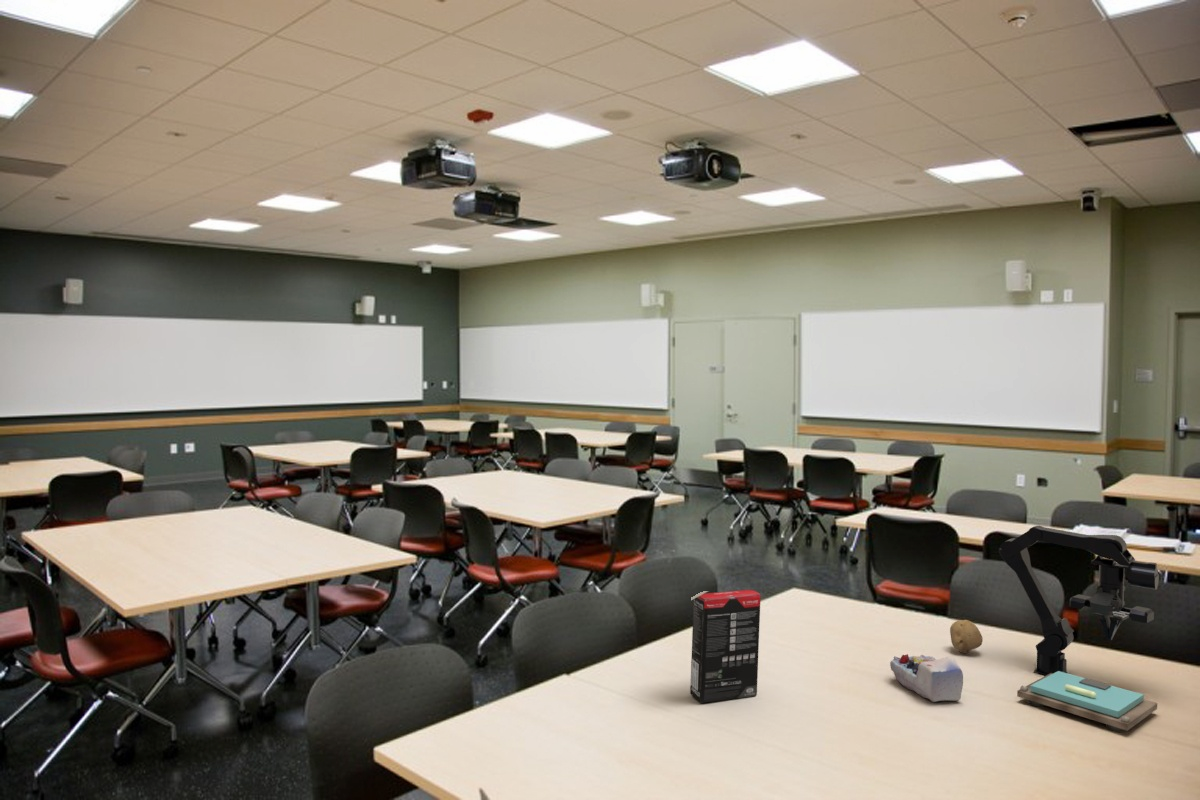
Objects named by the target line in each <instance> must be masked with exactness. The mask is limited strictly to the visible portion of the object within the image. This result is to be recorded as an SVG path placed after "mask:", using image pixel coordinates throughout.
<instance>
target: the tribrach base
mask: <svg viewBox="0 0 1200 800" xmlns="http://www.w3.org/2000/svg"><path fill="white" fill-rule="evenodd" d="M1050 675H1052V673H1050V674H1048V675H1044V676H1043V677H1041V678H1039V679H1036V681H1033V682H1031V683H1030V684H1027V685H1021V686H1020V689H1018V690H1017V693H1016V694H1017V696H1016V697H1018V698H1022V699H1025V700H1028V704H1029V705H1031V706H1034V707H1039V708H1040V707H1041V708H1043V707H1044V706H1046V707H1050V708H1053V709H1056V710H1060V711H1063V712H1067V713H1070V714H1073V715H1076V716H1079V717H1082V718H1086V719H1088V720H1092V721H1095V722H1098V723H1101V724H1105V725H1106V728H1107V729H1108V730H1111V731H1114V732H1119V733H1120V732H1124V731H1126V732H1127V731H1129V730H1130V729H1132V728H1134V726H1136V725H1137V724H1139V723H1140V722H1141V721H1143V720H1144V719H1146V718H1147V717H1148V716H1150V715H1151V714H1152V713H1154V712H1155V711H1156V710H1157V709H1158V703H1157V702H1156V701H1152V700H1147V699H1145V698H1144V701H1142V702H1141V703H1139V704H1138V705H1136V706H1135V707H1133V708H1132V709H1130V710H1129V711H1127V712H1126V713H1124V714H1123V715H1121V716H1120V717H1118V718H1117V717H1114V716H1111V715H1107V714H1104V713H1101V712H1097V711H1094V710H1091V709H1087V708H1084V707H1081V706H1077V705H1074V704H1071V703H1067V702H1064V701H1061V700H1058V699H1054V698H1051V697H1048V696H1044V695H1041V694H1038V693H1034V692H1031V691H1030V685H1032V684H1034V683H1036V682H1038V681H1040V680H1042V679H1044V678H1046V677H1048V676H1050Z"/></svg>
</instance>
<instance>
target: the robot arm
mask: <svg viewBox="0 0 1200 800" xmlns="http://www.w3.org/2000/svg"><path fill="white" fill-rule="evenodd" d="M1037 542H1042V543H1043V542H1044V543H1047V544H1048V543H1049V544H1054V545H1058V546H1065V547H1069V548H1075V549H1079V550H1085V551H1087V552H1089V553H1092V554H1094V555H1096V557H1095V558H1094V559H1092V560H1091V561H1090V564H1091V565H1095V566H1096V565H1098V566H1099V567H1098V571H1099V572H1098V585H1097V586H1096V587H1097V588H1096V592H1095V594H1093V595H1092V596H1089V595H1083V594H1076V595H1073V596H1071V597H1070V598H1069V603H1068V605H1069V607H1070V608H1073V609H1076V610H1077V609H1078V610H1082V609H1085V607H1087V608H1090V612H1091V615H1094V616H1095V617H1097V618H1098V619H1099V621H1100V624H1101V626H1102V628H1103V631H1104V634H1105V637H1106V639H1107V641H1112V640H1113V638H1114V636H1115V634H1116V633H1117V630H1118V629H1119V627H1120V625H1121V624H1122V622H1123V621H1125V620H1127V619H1129V618H1130V619H1131V620H1132V621H1134V622H1138V623H1142V624H1148V623H1150V622H1152V621H1154V619H1155V612H1154V611H1153V609H1152V608H1148V607H1144V606H1138V605H1135V606H1134V607H1132V608H1131V607H1130V608H1129V607H1125V605H1126V602H1125V600H1124V596H1125V595H1124V594H1125V591H1126V586H1125V581H1126V582H1127V583H1128V584H1129V585H1130V586H1131V587H1139V588H1144V589H1150V590H1157V589H1158V586H1159V579H1160V578H1159V577H1160V574H1159V571H1158V570H1159V569H1158V564H1157V563H1156V562H1152V561H1151V562H1145V561H1137V560H1136V558H1135V557H1134V556H1133V555H1132V553H1131V551H1129V550H1128V549H1127V548H1128V546H1127V543H1126V541H1125V540H1124V539H1123V537H1121V536H1119V535H1118V534H1083V533H1078V532H1073V531H1067V530H1062V529H1061V530H1060V529H1056V528H1050V527H1046V526H1042V525H1034V526H1031V527H1030V528H1029V529H1028V530H1027V531H1026V532H1024V533H1022V534H1021V535H1019V536H1018V537H1013V538H1010V539H1007V540H1005V541H1003V542H1002V543H1001V544H999V548H998V553H999V556H1000V558H1002V559H1003V561H1004V562H1005V564H1006V565H1007V566H1008V567H1009V568H1010V569H1011V570H1012V571H1013V572H1014V573H1015V574H1016V576H1017V578H1018V580H1019V581H1020V584H1021V586H1022V588H1023V589H1024V592H1025V593H1026V595H1027V597H1028V600H1029V601H1030V603H1031V605H1032V607H1033V608H1034V611H1035V612H1036V615H1037V617H1038V618H1039V620H1040V628H1041V633H1042V636H1043V639H1042V640H1040V641H1039V642H1038V643H1037V644H1036V645H1035V650H1036V668H1035V669H1033V672H1034V673H1036V674H1041V675H1044V676H1046V675H1048V674H1050V673H1052V674H1053V673H1055V672H1057V671H1060V672H1064V673H1068V671H1067V665H1068V664H1067V659H1066V654H1065V653H1064V652H1062V651H1064V650H1065V649H1067V648H1068V647H1069V646H1070V645H1071V644H1072V643H1073V641H1074V634H1073V633H1074V632H1075V629H1073V628H1072V627H1071V625H1070V623H1069V620H1068V618H1067V617H1064V618H1061V617H1060V616H1059V615H1058V614H1057V612H1055V609H1054V607H1053V606H1052V604H1051V602H1050V600H1049V598H1048V596H1047V594H1046V592H1045V591H1044V589H1043V586H1042V585H1041V583H1040V581H1039V579H1038V577H1037V575H1036V573H1035V571H1034V570H1033V568H1032V565H1031V564H1032V563H1031V557H1030V553H1029V550H1028V548H1030V547H1032V546H1033V545H1035V544H1036V543H1037Z"/></svg>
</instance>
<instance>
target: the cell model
mask: <svg viewBox="0 0 1200 800" xmlns="http://www.w3.org/2000/svg"><path fill="white" fill-rule="evenodd" d="M889 665H890V671H892V673H893V674H894V678H895V679H896V680H897V682H899V683H900V684H901V685H902V686H903V687H904V688H906V689H907V690H910V691H914V692H916V694H917V695H919V696H921V697H923V698H926V699H928V700H930V701H931V702H933V703H936V702H940V701H951V702H955V701H957V702H958V701H960V700H961V697H962V691H963V686H964V673H963V670H962V669H961V667H960V666H959V664H958V662H957V661H956V659H955V658H953V657H950V656H948V657H942V658H939V659H936V658H935V657H933V656H927V655H924V654H921V655H920V656H919V655H916V656H915V655H912V656H909V654H905V655H904V654H902V655H901V657H898V656H895V655H894V656H893V659H892V660H891V661H890V663H889Z"/></svg>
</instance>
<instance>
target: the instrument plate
mask: <svg viewBox="0 0 1200 800" xmlns="http://www.w3.org/2000/svg"><path fill="white" fill-rule="evenodd" d="M1030 691H1031V692H1034V693H1038V694H1041V695H1044V696H1048V697H1051V698H1054V699H1058V700H1061V701H1064V702H1067V703H1071V704H1074V705H1077V706H1081V707H1084V708H1087V709H1091V710H1094V711H1097V712H1101V713H1104V714H1107V715H1111V716H1114V717H1117V718H1118V717H1120V716H1121V715H1123V714H1124V713H1126V712H1127V711H1129V710H1130V709H1132V708H1133V707H1135V706H1136V705H1138V704H1139V703H1141V702H1142V701H1144V699H1145V698H1144V697H1145V694H1143V693H1140V692H1135V691H1133V690H1128V689H1125V688H1121V687H1118V686H1114V685H1111V684H1109V683H1105V682H1104V683H1103V682H1101V681H1097V680H1093V679H1089V678H1086V677H1082V676H1079V675H1074V674H1070V673H1068V672H1067V673H1064V672H1060V671H1057V672H1055V673H1053V674H1052V675H1050V676H1048V677H1046V678H1044V679H1042V680H1040V681H1038V682H1036V683H1034V684H1032V685H1030Z"/></svg>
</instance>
